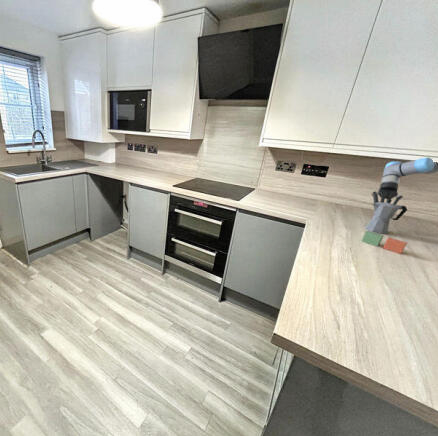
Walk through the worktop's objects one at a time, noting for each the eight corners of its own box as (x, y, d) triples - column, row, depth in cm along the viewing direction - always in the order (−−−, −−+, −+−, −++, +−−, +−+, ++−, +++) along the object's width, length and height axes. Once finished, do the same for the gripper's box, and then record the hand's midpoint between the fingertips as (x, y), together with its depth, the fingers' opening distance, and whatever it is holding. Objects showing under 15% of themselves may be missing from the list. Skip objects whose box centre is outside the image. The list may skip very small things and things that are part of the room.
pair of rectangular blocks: (402, 252, 106) (407, 242, 104) (400, 254, 105) (405, 244, 103) (363, 239, 117) (367, 230, 115) (361, 241, 115) (365, 231, 113)
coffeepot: (366, 231, 128) (380, 200, 121) (357, 225, 136) (370, 195, 130) (401, 236, 124) (417, 204, 117) (389, 230, 132) (404, 199, 126)
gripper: (401, 191, 137) (394, 225, 130) (372, 186, 144) (363, 218, 138) (408, 183, 131) (400, 218, 125) (377, 179, 138) (368, 212, 132)
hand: (381, 218), depth 131 cm, fingers closed
